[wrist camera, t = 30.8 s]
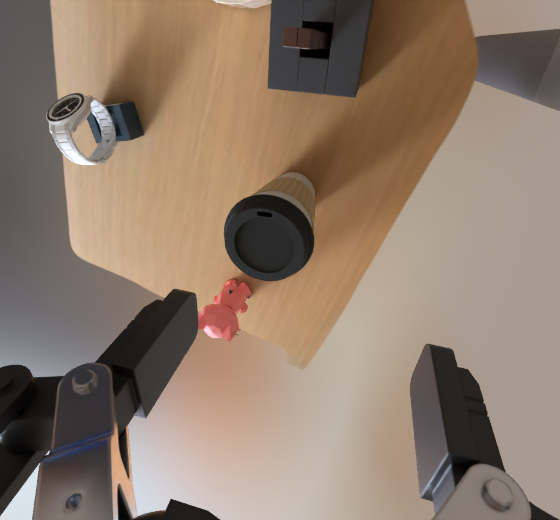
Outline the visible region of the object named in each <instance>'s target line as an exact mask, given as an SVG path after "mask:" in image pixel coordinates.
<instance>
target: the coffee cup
mask: <svg viewBox="0 0 560 520" xmlns="http://www.w3.org/2000/svg"><path fill="white" fill-rule="evenodd" d="M314 218H315V189H314V187H313V184H312V183H311V181H310V180H309V179H308V178H307V177H305V176H304V175H302V174H299V173H295V172H289V173H285V174H282V175H281V176H279V177H278V178H276V179H274V180H272V181H271V182H269V183H268V184H267V185H265V186H264V187H263V188H261V189H260V190H258V191H257V192H256V193H254V194H253V195H252V196H250V197H247V198H244V199H243V200H241V201H240V202H238V203H237V204H236V205H235V206H234V207H233V208H232V209H231V211H230V213H229V214H228V216H227V219H226V222H225V226H224V238H225V247H226V250H227V253H228V255H229V257H230V259H231V260H232V262H233V263H234V264H235V265H236V266H237V267H238V268H239V269H240V270H241V271H242V272H244V273H245V274H247V275H249V276H251V277H253V278H256V279H259V280H264V281H278V280H282V279H285V278H287V277H289V276H291V275H293V274H295V273H297V272H298V271H299V270H301V269H302V268H303V267H304V266H305V264H306V263H307V262H308V261H309V259H310V257H311V255H312V253H313V248H314V234H313V229H314Z"/></svg>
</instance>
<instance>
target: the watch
mask: <svg viewBox="0 0 560 520" xmlns="http://www.w3.org/2000/svg"><path fill="white" fill-rule="evenodd" d="M46 118H47V120H48V121H49V129H50V132H51V133H52V135H53V137H54V140H55V142H56V144H57V146H58V148H59V149H60V150H61V152H62V153H63V154H64V155H65V156H66V157H67V158H68V159H70V160H71V161H73V162H75V163H77V164H80V165H92V164H100V163H105V162H106V161H107V160H108V159H109V158H110V156H111V155H112V153H113V151H114V149H115V147H116V144H117V142H116V141H127V140H132V139H135V138H138V137H140V136H143V135H144V133H143V130H142V127H141V124H140V121H139V117H138V114H137V111H136V108H135V105H134V101H133V102H125V103H118V104H110V105H103V104H102V103H101V102H100V101H99V100H98V99H96V98H94V97H92V96H90V95H89V96H84V95H83V94H80V93H74V94H70V95H67V96H65V97H63V98H61V99H59V100H58V101H57V102H55V103H54V104H53V105H52V106H51V107H50V109H49V110H48V112H47V114H46ZM86 118H87V120H88V122H89V125H90V128H91V130H92V133H93V135H94V138H95V141H96V143H98V146H97V148H96V150H95V151H94V153H93V154H92V155H91V156H90V157H89V159H88V158H87V157H85V156H84V155H83V154H82V153H80V150H79V149H78V147H77V146H76V144H75V142H74V140H73V138H72V134H71V132H75V131H76V129H77V126H78V125H79V124H81V123H82V122H83V121H84V120H86ZM69 138H70V139H69ZM64 141H65V142H64Z"/></svg>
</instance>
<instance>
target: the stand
mask: <svg viewBox="0 0 560 520" xmlns="http://www.w3.org/2000/svg"><path fill="white" fill-rule="evenodd" d="M373 3H374V0H271V22H270V46H269V70H268V89H277V90H287V91H298V92H307V93H316V94H326V95H336V96H346V97H356V94H357V92H358V89H359V84H360V78H361V73H362V67H363V61H364V55H365V49H366V43H367V38H368V32H369V26H370V20H371V14H372V9H373ZM314 24H315V25H329V26H333V32H332V40H331V48H330V56H318V55H311V52H312V49H301V48H290V47H283V37H284V27H294V28H306V29H313V30H314Z"/></svg>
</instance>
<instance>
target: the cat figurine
mask: <svg viewBox="0 0 560 520" xmlns="http://www.w3.org/2000/svg"><path fill="white" fill-rule="evenodd" d="M239 287H240V288H239ZM239 287H238V286H237V283H236V280H234V279H231V280H228V281H227V282H226V283H225V284H224V288H223V290H222V292H221V293H220V294H219V295H218V296H215V298H214V304H210V305H207V306H205V307H204V308H203V310H202V311H201V312H200V314H199V315H198V324H199V325H198V329H204V331H205V332H206V333H207V334H208V335H209V336H210V337H212V338H221V337H225V338H226V339H227V340H228V341H229V342H230V341H231V340H232V338H233V337H234V335H236V332H237V331H238V329H239V323H238V319H237V316H236V313H238V312H239V311H240V309H241V311H240V312H241V313H244V312H246V310H247V308H248V306H247V305H246V303H245V300H246V298H250V296H251V295H252V294H251V291H250V289H249V287H248V285H247V284H246V283H245V282H242V283H241V285H240V286H239Z"/></svg>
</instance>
